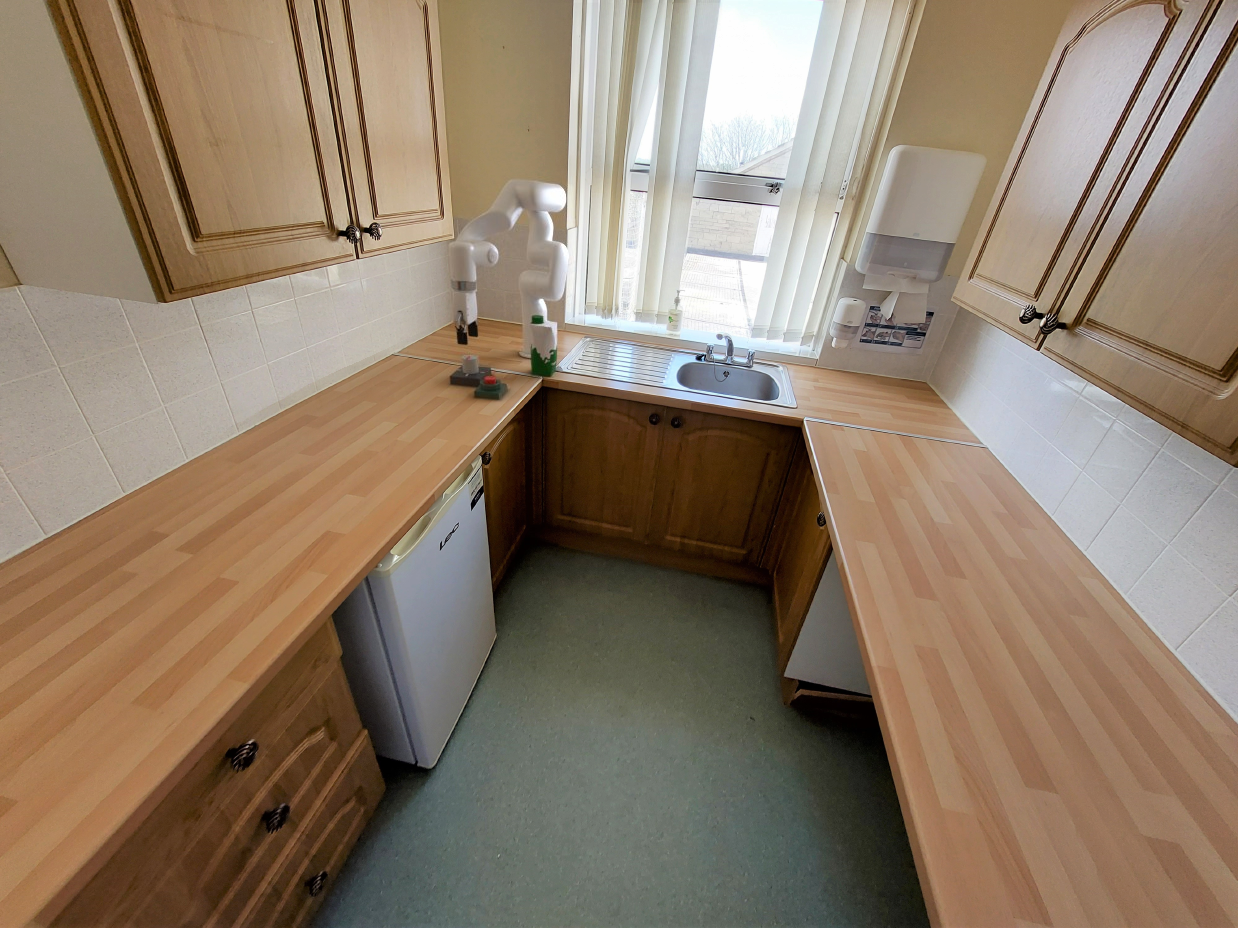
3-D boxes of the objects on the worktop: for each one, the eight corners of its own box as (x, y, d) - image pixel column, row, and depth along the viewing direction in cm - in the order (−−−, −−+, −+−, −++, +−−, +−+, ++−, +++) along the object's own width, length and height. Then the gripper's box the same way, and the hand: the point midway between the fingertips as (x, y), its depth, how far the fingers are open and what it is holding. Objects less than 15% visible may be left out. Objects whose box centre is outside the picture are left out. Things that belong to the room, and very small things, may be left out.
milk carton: (535, 367, 181) (534, 313, 171) (559, 370, 180) (559, 315, 170) (528, 375, 173) (526, 318, 163) (552, 378, 172) (552, 321, 162)
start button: (486, 380, 156) (486, 375, 155) (497, 381, 156) (497, 376, 155) (483, 384, 153) (482, 379, 152) (494, 385, 153) (494, 380, 152)
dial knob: (466, 368, 166) (464, 353, 163) (480, 369, 166) (479, 354, 163) (460, 373, 161) (459, 357, 159) (475, 374, 161) (474, 359, 159)
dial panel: (463, 372, 170) (462, 364, 169) (491, 375, 170) (490, 366, 169) (450, 384, 160) (449, 375, 158) (480, 387, 160) (479, 378, 158)
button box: (483, 387, 160) (482, 376, 158) (507, 389, 160) (506, 378, 158) (474, 397, 152) (473, 385, 150) (499, 400, 152) (498, 388, 150)
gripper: (462, 280, 157) (466, 332, 166) (441, 289, 142) (446, 346, 151) (485, 282, 157) (487, 335, 165) (466, 291, 142) (470, 348, 150)
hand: (468, 340), depth 158 cm, fingers open, 9 cm apart
